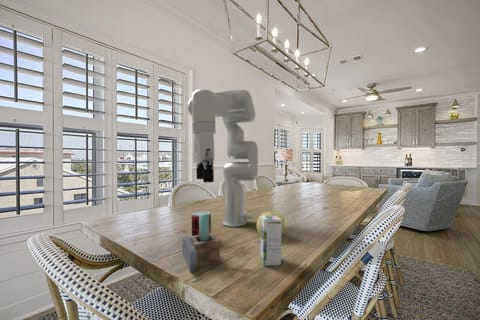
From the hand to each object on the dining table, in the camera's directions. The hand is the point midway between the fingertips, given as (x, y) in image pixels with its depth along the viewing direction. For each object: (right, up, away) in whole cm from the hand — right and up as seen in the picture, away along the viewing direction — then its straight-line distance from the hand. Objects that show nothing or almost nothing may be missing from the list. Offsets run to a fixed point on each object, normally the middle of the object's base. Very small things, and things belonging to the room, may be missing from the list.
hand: (204, 180), depth 77 cm
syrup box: (+22, -26, -2) cm, 34 cm away
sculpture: (+25, -26, +22) cm, 42 cm away
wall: (-5, -26, -2) cm, 27 cm away
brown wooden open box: (0, -26, 0) cm, 26 cm away
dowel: (0, -22, 0) cm, 22 cm away
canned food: (-4, -26, +19) cm, 33 cm away
